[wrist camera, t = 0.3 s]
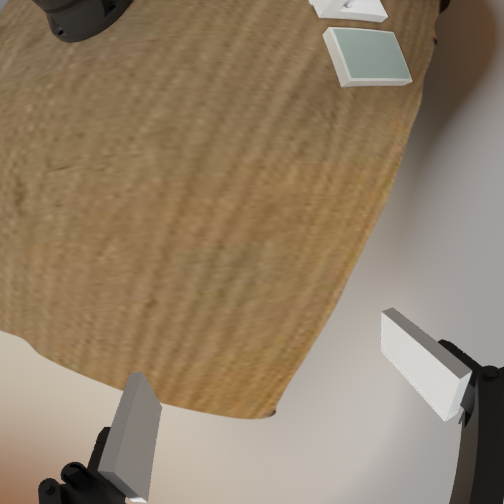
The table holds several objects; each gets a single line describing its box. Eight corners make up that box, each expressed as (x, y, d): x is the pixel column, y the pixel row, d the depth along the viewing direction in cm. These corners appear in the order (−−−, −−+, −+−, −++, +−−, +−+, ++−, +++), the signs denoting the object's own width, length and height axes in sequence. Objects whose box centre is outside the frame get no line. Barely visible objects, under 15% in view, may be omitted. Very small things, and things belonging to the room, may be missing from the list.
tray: (322, 35, 34) (329, 26, 30) (384, 38, 34) (394, 31, 31) (341, 87, 36) (350, 80, 33) (402, 85, 37) (413, 81, 34)
